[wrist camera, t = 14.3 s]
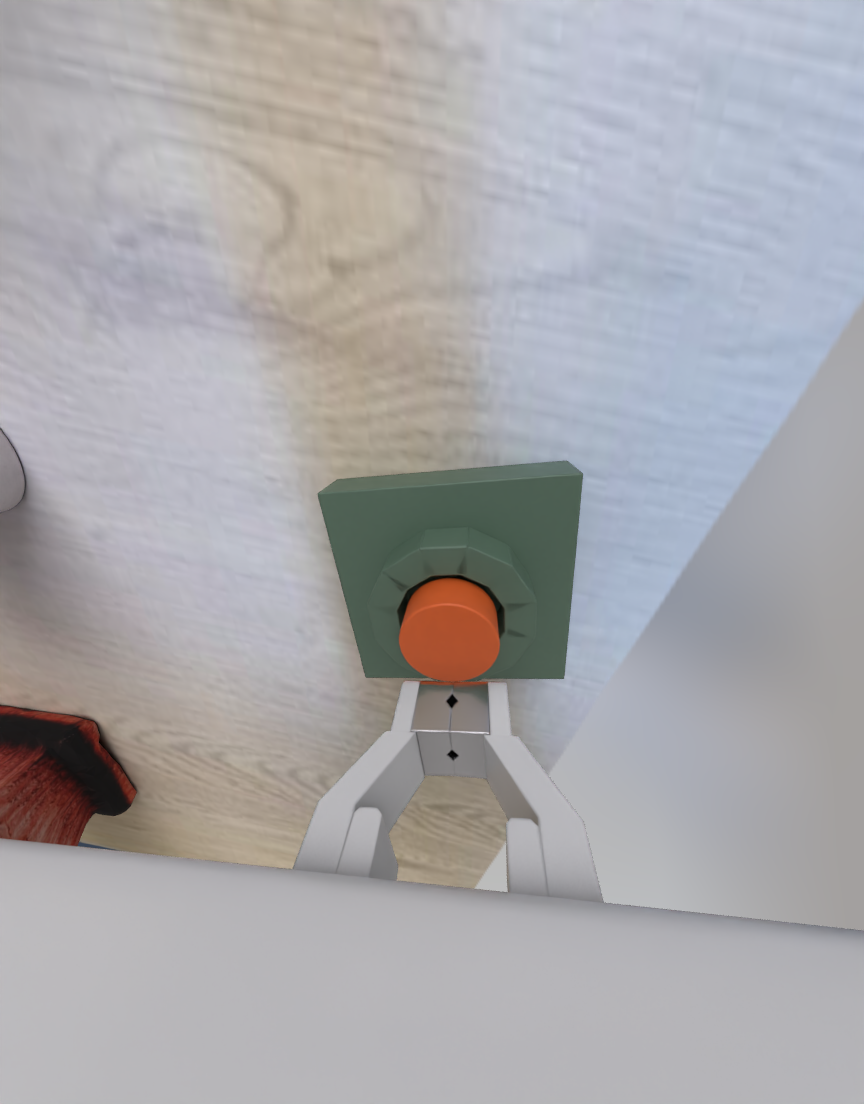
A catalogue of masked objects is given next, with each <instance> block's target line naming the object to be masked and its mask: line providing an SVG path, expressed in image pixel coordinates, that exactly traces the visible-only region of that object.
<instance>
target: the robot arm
mask: <svg viewBox="0 0 864 1104" xmlns="http://www.w3.org/2000/svg"><path fill="white" fill-rule="evenodd" d="M488 694H489V695H488ZM424 775H432V776H460V777H471V778H483V779H487V782H488V784H489V785H490V787H491V789H492V791H493V793H494V795H495V797H496V799H497V800H498V802H499V804H500V806H501V808H502V810H503V812H504V813H505V815H506V817H507V819H508V822H507V823H506V854H507V887H508V892H500V891H489V890H481V889H472V888H463V887H453V886H444V885H435V884H425V883H416V882H407V881H397V880H396V879H397V873H398V864H397V860H396V857H395V854H394V851H393V848H392V845H391V841H390V838H389V835H388V833H389V832H390V830H391V829H392V827H393V826H394V824H395V823H396V821H397V820H398V818H399V816H400V815H401V813H402V812H403V810H404V809H405V807H406V806H407V804H408V803H409V801H410V800H411V798H412V797H413V795H414V793H415V792H416V790H417V789H418V787H419V786H420V784H421V783H422V781H423V780H424V778H425V776H424ZM0 1104H864V930H854V929H845V928H835V927H827V926H817V925H807V924H798V923H789V922H780V921H770V920H761V919H752V918H742V917H733V916H724V915H714V914H705V913H695V912H686V911H677V910H667V909H658V908H649V907H640V906H631V905H621V904H612V903H604V902H603V898H602V894H601V890H600V886H599V881H598V877H597V873H596V869H595V865H594V861H593V857H592V853H591V849H590V845H589V841H588V837H587V832H586V828H585V824H584V821H583V820H582V819H581V817H580V816H579V815H578V813H577V812H576V811H575V809H574V808H573V807H572V805H571V804H570V803H569V802H568V800H567V799H566V798H565V797H564V795H563V794H562V793H561V791H560V790H559V789H558V787H557V786H556V785H555V783H554V782H553V781H552V780H551V778H550V777H549V776H548V774H547V773H546V772H545V771H544V769H543V768H542V767H541V765H540V764H539V763H538V761H537V760H536V759H535V758H534V756H533V755H532V754H531V752H530V751H529V750H528V749H527V747H526V746H525V745H524V743H523V742H522V741H521V739H520V738H519V737H518V736H512V730H511V720H510V710H509V701H508V691H507V684H506V682H436V681H404V682H403V684H402V686H401V690H400V694H399V698H398V702H397V706H396V710H395V714H394V718H393V723H392V727H391V731H385V732H384V733H383V734H382V735H381V736H380V737H379V738H378V739H377V740H376V741H375V742H374V743H373V744H372V745H371V747H370V748H369V749H368V750H367V751H366V752H365V753H364V754H363V755H362V756H361V757H360V758H359V759H358V760H357V761H356V762H355V763H354V764H353V765H352V766H351V767H350V768H349V770H348V771H347V772H346V773H345V774H344V775H343V776H342V777H341V778H340V779H339V780H338V781H337V782H336V783H335V784H334V785H333V786H332V787H331V788H330V789H329V790H328V791H327V793H326V794H325V795H324V796H323V797H322V798H321V799H320V800H319V801H318V803H317V806H316V808H315V811H314V813H313V816H312V819H311V821H310V824H309V827H308V829H307V832H306V835H305V837H304V840H303V843H302V845H301V848H300V850H299V853H298V856H297V858H296V861H295V864H294V866H293V869H285V868H275V867H266V866H257V865H247V864H238V863H229V862H219V861H210V860H200V859H191V858H182V857H172V856H163V855H153V854H144V853H135V852H125V851H116V850H106V849H96V848H88V847H78V846H69V845H59V844H50V843H40V842H31V841H21V840H12V839H2V838H0Z"/></svg>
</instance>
